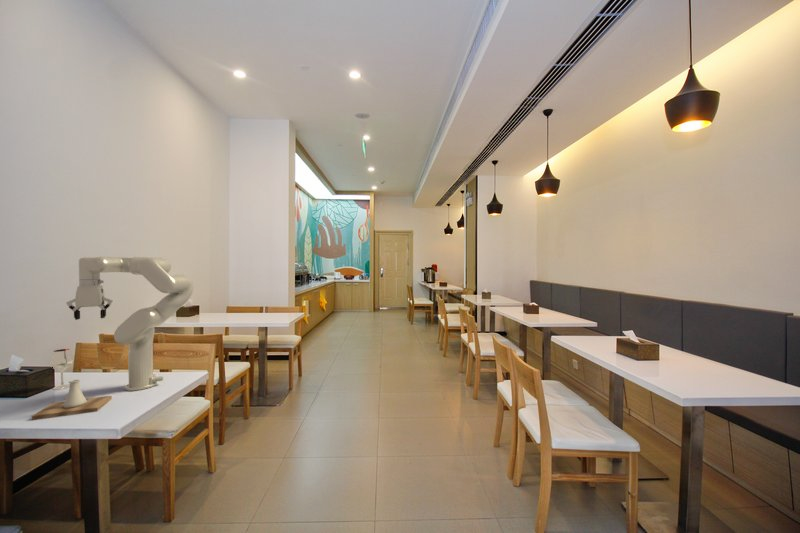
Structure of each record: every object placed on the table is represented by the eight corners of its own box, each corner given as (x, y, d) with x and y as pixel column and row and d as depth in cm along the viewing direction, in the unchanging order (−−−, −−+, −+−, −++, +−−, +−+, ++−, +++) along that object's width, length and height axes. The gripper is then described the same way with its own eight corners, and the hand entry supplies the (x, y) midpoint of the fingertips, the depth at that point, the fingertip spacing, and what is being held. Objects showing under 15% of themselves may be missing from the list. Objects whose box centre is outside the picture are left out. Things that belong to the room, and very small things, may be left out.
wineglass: (53, 391, 163) (52, 353, 163) (48, 388, 168) (47, 351, 168) (76, 386, 170) (75, 349, 170) (70, 383, 175) (69, 347, 174)
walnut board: (111, 398, 153) (111, 395, 153) (97, 411, 140) (97, 407, 139) (52, 406, 145) (52, 402, 145) (31, 420, 132) (31, 416, 132)
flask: (72, 409, 138) (71, 384, 138) (57, 408, 140) (57, 383, 140) (91, 402, 145) (91, 378, 145) (77, 401, 147) (77, 377, 147)
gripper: (114, 282, 174) (115, 316, 174) (70, 283, 168) (71, 318, 168) (108, 282, 167) (109, 318, 167) (62, 284, 161) (63, 321, 161)
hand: (90, 318), depth 167 cm, fingers open, 9 cm apart
